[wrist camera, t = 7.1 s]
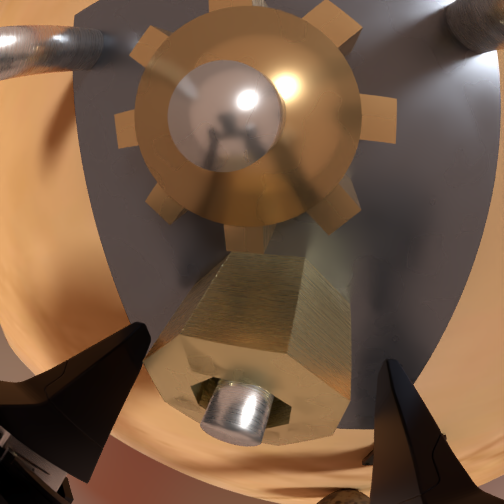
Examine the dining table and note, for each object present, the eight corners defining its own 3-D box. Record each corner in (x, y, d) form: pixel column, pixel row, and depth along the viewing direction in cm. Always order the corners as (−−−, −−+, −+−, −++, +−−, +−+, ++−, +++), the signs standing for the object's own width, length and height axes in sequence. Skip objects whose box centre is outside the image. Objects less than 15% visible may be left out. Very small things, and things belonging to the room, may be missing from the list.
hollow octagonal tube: (332, 372, 11) (323, 450, 8) (208, 354, 13) (176, 420, 9) (358, 262, 8) (368, 360, 5) (186, 246, 10) (122, 319, 6)
